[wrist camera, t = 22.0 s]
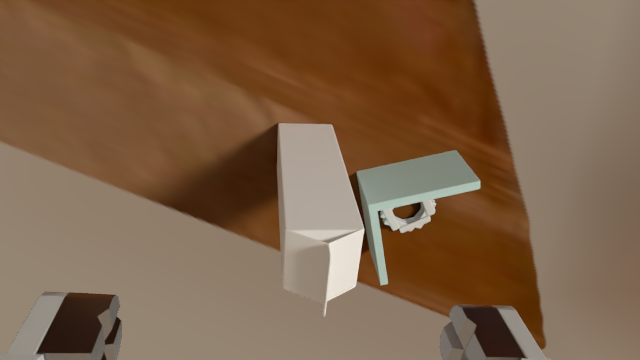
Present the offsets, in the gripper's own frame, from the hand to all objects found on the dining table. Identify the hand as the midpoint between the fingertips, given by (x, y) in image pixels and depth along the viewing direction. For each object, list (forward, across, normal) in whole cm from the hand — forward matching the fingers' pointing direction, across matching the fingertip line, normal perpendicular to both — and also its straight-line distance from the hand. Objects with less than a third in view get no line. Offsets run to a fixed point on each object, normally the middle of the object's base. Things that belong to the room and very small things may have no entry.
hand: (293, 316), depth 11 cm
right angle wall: (+38, -19, +20) cm, 47 cm away
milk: (+37, -5, +14) cm, 40 cm away
